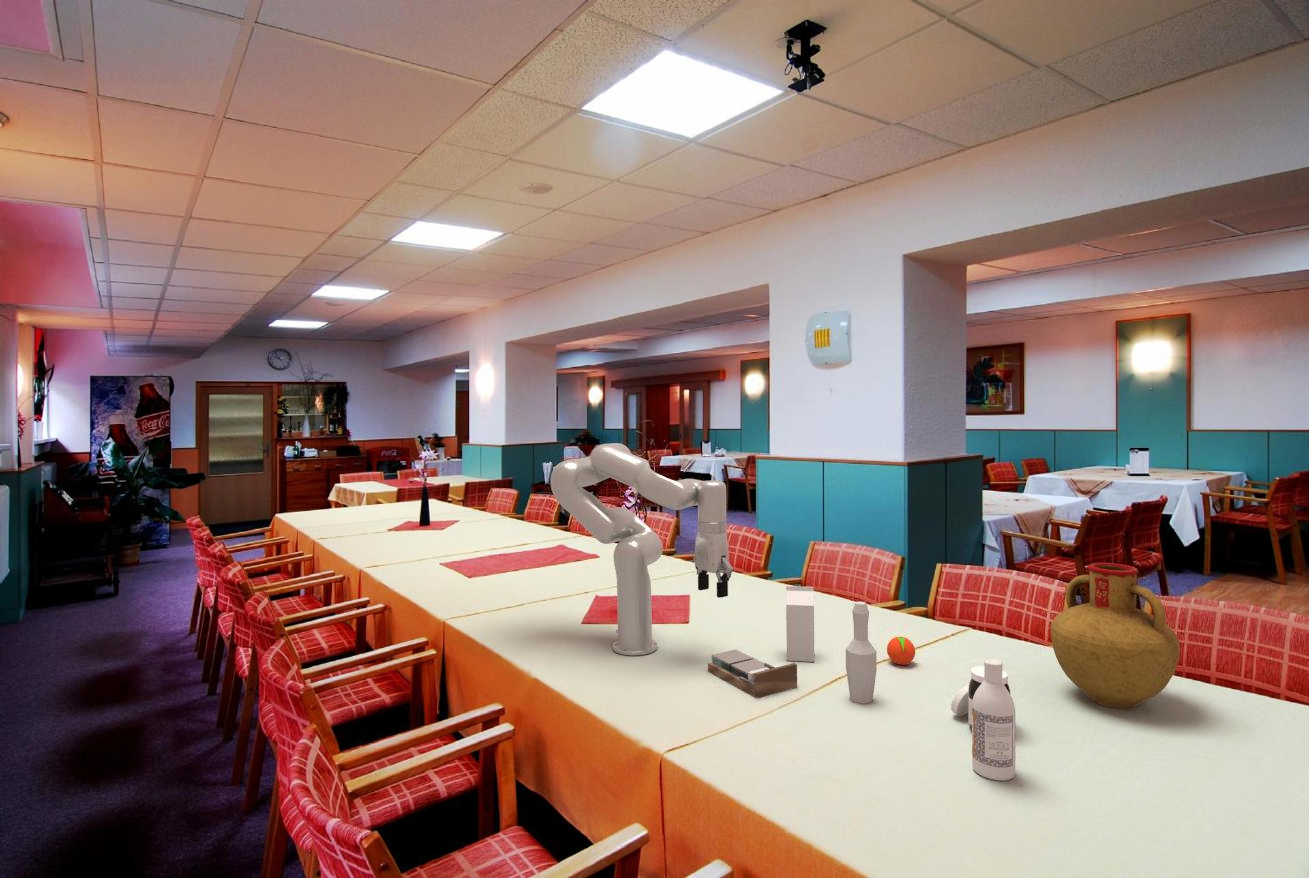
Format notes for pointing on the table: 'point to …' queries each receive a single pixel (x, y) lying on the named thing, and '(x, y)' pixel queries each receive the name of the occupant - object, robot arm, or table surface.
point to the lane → (761, 679)
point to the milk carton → (800, 623)
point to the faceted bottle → (861, 658)
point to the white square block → (746, 667)
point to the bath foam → (993, 726)
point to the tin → (729, 659)
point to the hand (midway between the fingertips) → (712, 592)
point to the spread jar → (972, 693)
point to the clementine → (901, 650)
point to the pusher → (751, 673)
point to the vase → (1114, 639)
